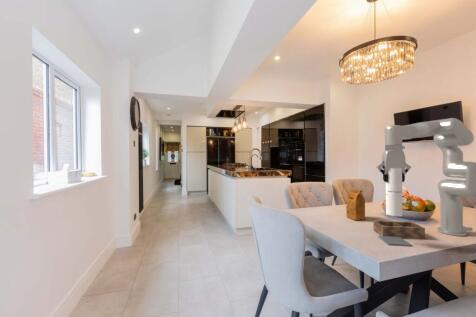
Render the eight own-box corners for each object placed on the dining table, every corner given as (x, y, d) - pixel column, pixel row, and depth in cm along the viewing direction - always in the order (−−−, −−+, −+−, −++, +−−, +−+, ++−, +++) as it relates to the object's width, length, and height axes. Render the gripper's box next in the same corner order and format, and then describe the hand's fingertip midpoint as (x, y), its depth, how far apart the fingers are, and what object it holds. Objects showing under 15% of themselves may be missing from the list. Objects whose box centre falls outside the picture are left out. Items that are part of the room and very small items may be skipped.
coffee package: (356, 216, 166) (356, 187, 166) (367, 220, 153) (367, 190, 153) (344, 216, 165) (343, 187, 165) (354, 221, 153) (353, 190, 153)
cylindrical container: (395, 216, 111) (395, 168, 111) (382, 213, 118) (382, 167, 118) (405, 215, 113) (405, 168, 113) (392, 212, 120) (392, 167, 120)
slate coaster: (399, 238, 120) (399, 236, 120) (412, 246, 109) (412, 244, 109) (378, 237, 122) (378, 235, 122) (388, 245, 111) (388, 243, 111)
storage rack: (411, 231, 130) (411, 221, 130) (425, 238, 119) (424, 228, 119) (373, 230, 134) (373, 220, 133) (382, 237, 122) (382, 226, 122)
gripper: (407, 148, 118) (407, 181, 118) (372, 149, 120) (373, 180, 121) (416, 148, 110) (416, 182, 110) (379, 148, 113) (379, 182, 113)
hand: (393, 181), depth 115 cm, fingers closed on cylindrical container, 7 cm apart
